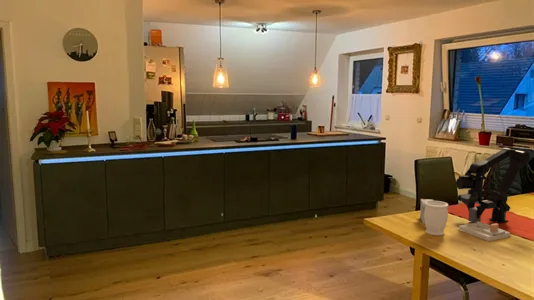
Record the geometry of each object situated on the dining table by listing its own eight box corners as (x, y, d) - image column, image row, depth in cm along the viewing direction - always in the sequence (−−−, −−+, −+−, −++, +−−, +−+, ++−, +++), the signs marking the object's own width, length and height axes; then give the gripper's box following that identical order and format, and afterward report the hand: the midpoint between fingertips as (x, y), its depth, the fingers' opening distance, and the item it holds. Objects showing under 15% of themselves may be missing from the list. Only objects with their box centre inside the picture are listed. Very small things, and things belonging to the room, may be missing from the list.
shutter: (492, 228, 198) (493, 221, 198) (505, 233, 192) (505, 225, 192) (482, 230, 196) (483, 223, 195) (495, 235, 190) (495, 227, 189)
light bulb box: (436, 224, 212) (437, 204, 211) (422, 224, 214) (423, 204, 212) (432, 218, 223) (433, 199, 221) (419, 217, 224) (420, 198, 222)
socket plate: (479, 225, 210) (479, 219, 209) (509, 236, 194) (510, 230, 194) (458, 229, 205) (459, 223, 204) (488, 241, 189) (489, 234, 189)
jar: (445, 230, 204) (447, 201, 201) (447, 237, 194) (449, 207, 192) (422, 228, 207) (424, 199, 205) (423, 235, 197) (424, 205, 195)
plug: (473, 219, 217) (474, 206, 216) (480, 221, 214) (481, 208, 213) (468, 220, 216) (469, 207, 215) (474, 223, 212) (475, 209, 211)
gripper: (450, 185, 217) (448, 214, 220) (480, 194, 200) (478, 224, 203) (465, 183, 222) (464, 211, 224) (497, 191, 205) (494, 221, 207)
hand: (474, 217), depth 214 cm, fingers closed on plug, 4 cm apart
